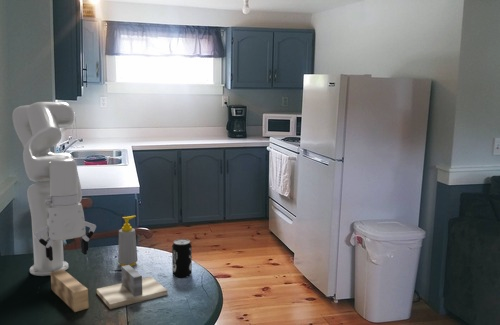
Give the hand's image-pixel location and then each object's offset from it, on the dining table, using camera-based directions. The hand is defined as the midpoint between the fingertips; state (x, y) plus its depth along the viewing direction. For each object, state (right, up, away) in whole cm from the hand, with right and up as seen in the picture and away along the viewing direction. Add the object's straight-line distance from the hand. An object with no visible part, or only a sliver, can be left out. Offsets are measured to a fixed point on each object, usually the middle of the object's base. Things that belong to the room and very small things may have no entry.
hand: (67, 256), depth 138 cm
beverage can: (+31, -11, +22) cm, 39 cm away
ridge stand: (+18, -13, +6) cm, 23 cm away
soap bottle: (+10, -9, +31) cm, 34 cm away
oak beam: (-1, -14, +2) cm, 14 cm away
